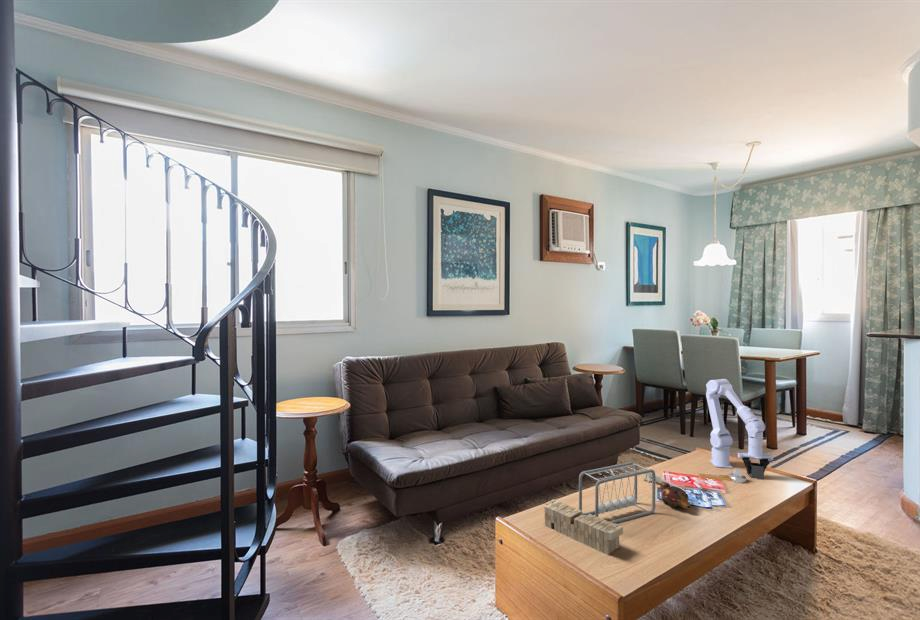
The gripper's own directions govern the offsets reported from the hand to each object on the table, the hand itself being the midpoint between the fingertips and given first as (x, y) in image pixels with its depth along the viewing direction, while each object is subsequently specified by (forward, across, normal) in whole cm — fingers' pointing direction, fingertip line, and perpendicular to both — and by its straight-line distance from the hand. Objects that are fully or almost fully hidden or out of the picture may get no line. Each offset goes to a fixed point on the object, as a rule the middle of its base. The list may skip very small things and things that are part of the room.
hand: (755, 473), depth 213 cm
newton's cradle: (+2, -70, -53) cm, 88 cm away
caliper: (+2, -45, -21) cm, 50 cm away
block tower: (+2, -86, -72) cm, 112 cm away
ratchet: (+2, -17, -6) cm, 18 cm away
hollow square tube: (+2, 0, 0) cm, 2 cm away
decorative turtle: (+2, -46, -40) cm, 61 cm away
